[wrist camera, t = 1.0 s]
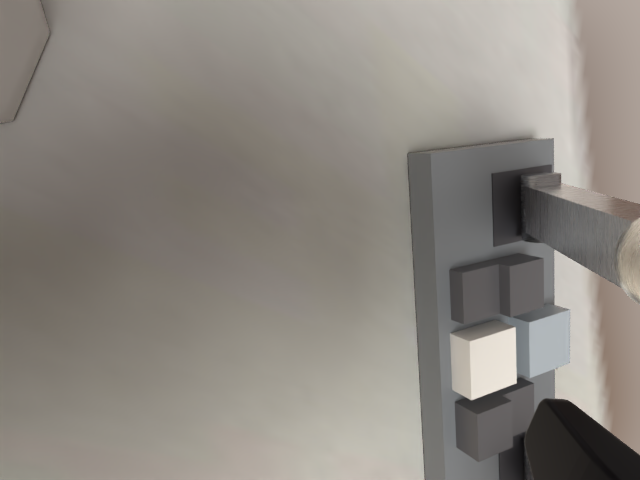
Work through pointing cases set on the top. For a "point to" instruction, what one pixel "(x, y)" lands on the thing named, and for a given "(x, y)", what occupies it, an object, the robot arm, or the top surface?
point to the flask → (19, 50)
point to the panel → (481, 308)
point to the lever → (584, 228)
